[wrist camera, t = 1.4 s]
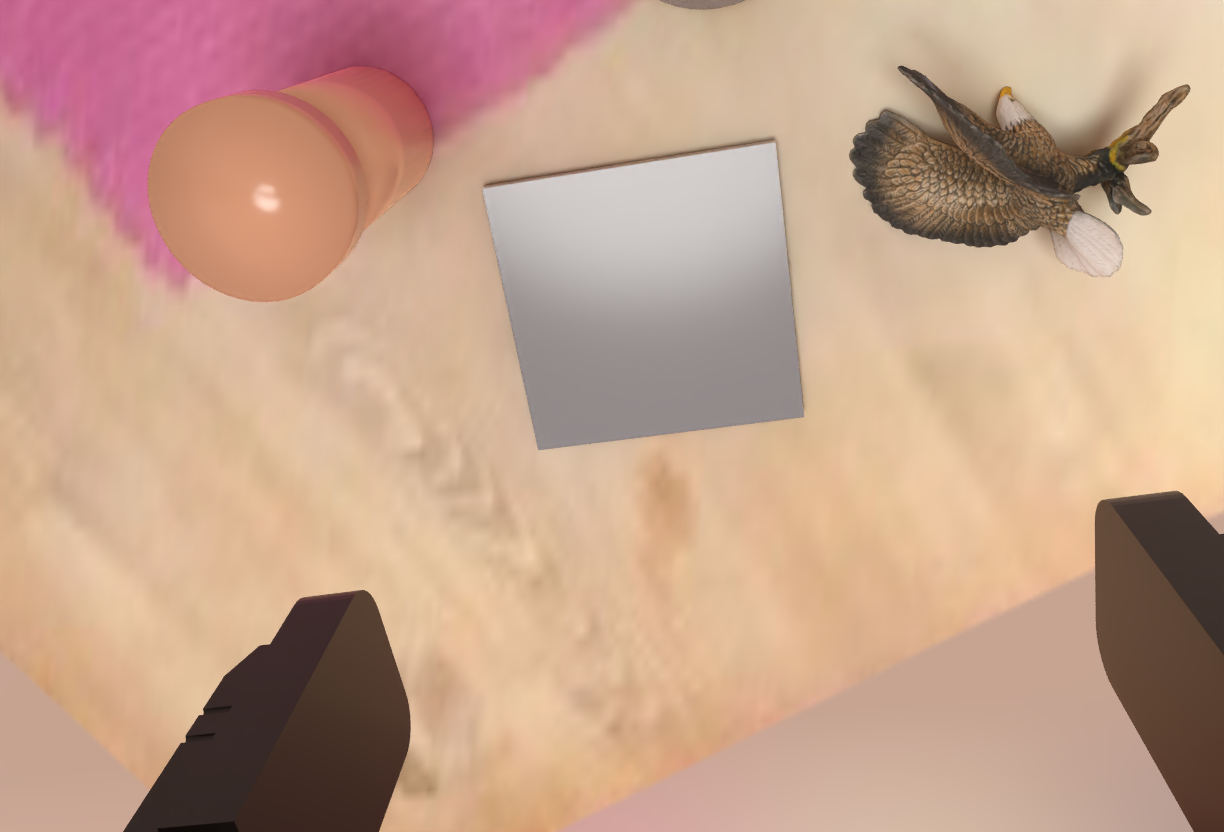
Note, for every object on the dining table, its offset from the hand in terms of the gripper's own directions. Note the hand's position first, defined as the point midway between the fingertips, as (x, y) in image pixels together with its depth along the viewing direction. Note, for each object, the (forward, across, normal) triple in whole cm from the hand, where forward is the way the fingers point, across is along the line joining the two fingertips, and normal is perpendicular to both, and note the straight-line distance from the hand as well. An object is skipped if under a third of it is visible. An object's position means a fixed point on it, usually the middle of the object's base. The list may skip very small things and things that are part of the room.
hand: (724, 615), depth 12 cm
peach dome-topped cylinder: (+30, +12, -3) cm, 32 cm away
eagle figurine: (+30, -10, +2) cm, 32 cm away
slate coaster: (+30, +3, +6) cm, 30 cm away
